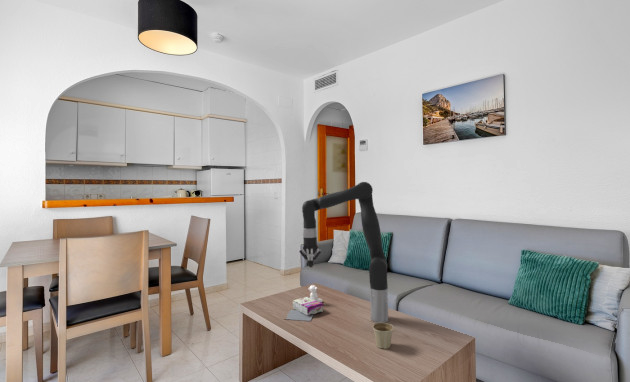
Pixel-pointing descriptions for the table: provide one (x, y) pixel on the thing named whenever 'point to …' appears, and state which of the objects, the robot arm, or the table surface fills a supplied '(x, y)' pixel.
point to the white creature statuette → (314, 293)
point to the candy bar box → (307, 306)
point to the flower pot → (383, 334)
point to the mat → (298, 316)
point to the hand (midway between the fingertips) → (310, 266)
